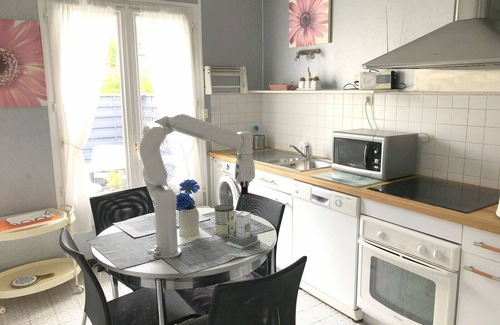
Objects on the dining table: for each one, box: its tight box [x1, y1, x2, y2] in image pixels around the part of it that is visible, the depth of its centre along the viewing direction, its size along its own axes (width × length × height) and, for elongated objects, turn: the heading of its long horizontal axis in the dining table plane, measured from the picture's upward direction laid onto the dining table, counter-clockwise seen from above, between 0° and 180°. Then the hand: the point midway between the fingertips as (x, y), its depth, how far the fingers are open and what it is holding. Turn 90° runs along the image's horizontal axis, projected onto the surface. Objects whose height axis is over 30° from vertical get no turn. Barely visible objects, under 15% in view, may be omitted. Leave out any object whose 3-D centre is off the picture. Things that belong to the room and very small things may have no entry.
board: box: [225, 238, 261, 250], centre depth 203 cm, size 14×10×1 cm
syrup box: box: [234, 210, 252, 239], centre depth 202 cm, size 6×6×14 cm
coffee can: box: [213, 203, 235, 237], centre depth 216 cm, size 10×10×14 cm
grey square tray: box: [228, 232, 259, 247], centre depth 203 cm, size 10×10×3 cm
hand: (244, 193), depth 203 cm, fingers closed
